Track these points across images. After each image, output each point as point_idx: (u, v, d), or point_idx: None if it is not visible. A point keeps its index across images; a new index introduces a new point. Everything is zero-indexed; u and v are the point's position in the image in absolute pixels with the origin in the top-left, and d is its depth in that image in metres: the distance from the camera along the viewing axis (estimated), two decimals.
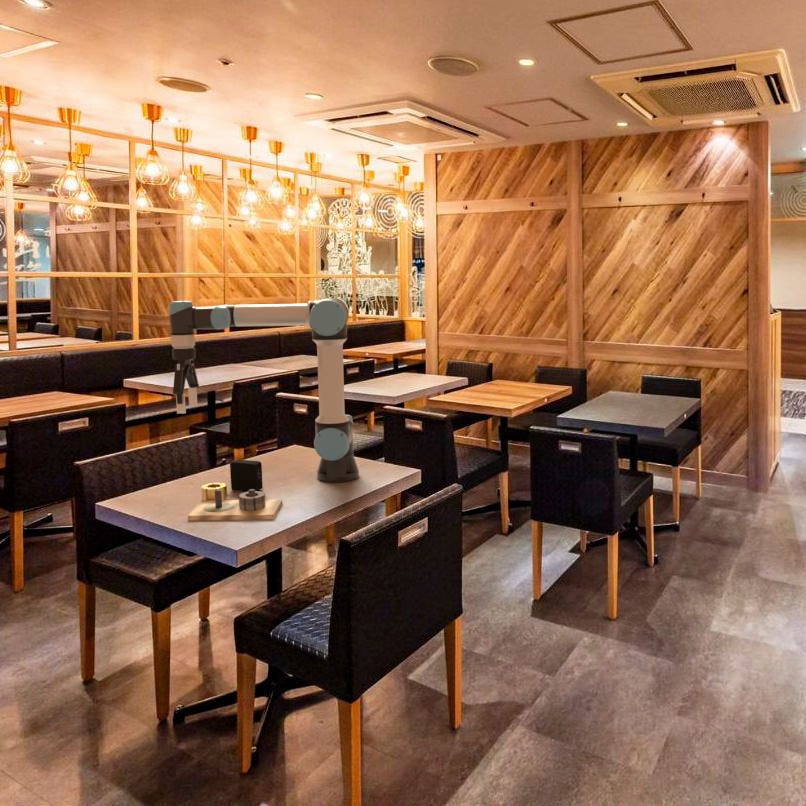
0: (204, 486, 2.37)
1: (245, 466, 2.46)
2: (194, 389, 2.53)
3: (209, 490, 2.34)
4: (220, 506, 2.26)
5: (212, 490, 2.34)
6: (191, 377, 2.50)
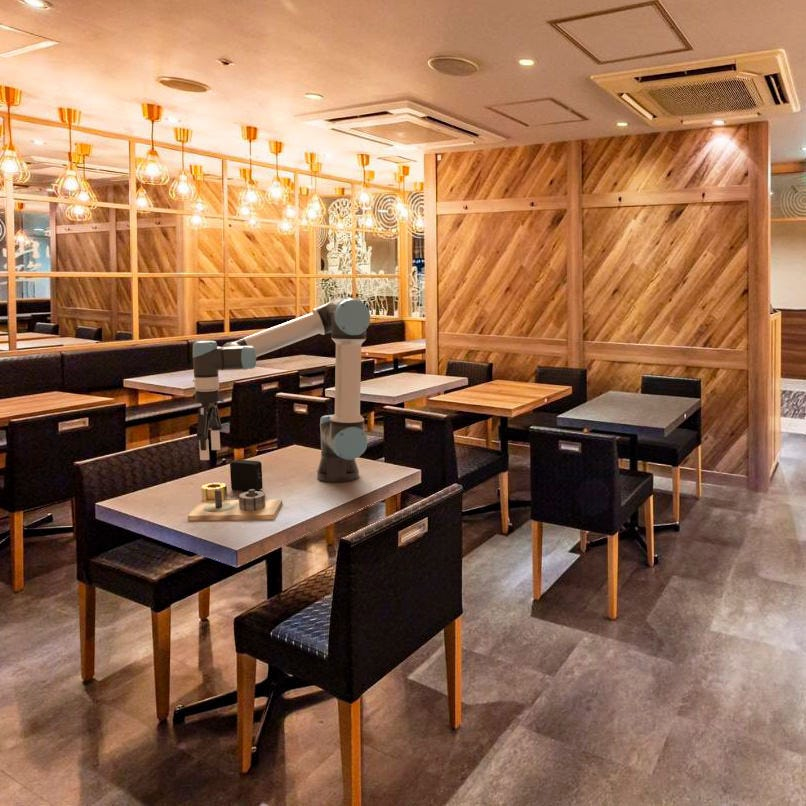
0: (204, 486, 2.37)
1: (245, 466, 2.46)
2: (217, 432, 2.40)
3: (209, 490, 2.34)
4: (220, 506, 2.26)
5: (212, 490, 2.34)
6: (214, 420, 2.37)
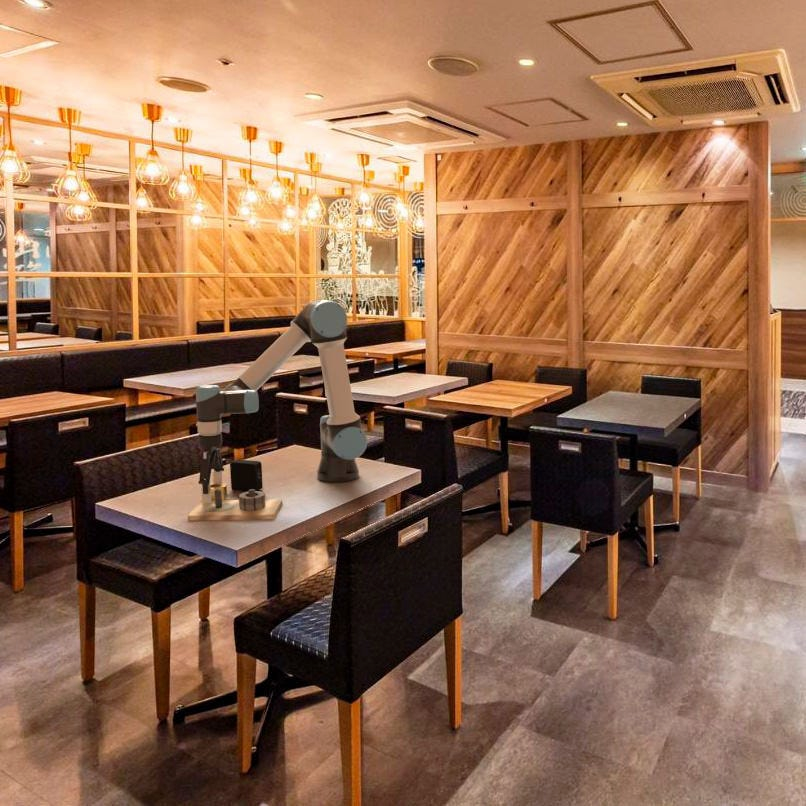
0: None
1: (245, 466, 2.46)
2: (219, 473, 2.43)
3: None
4: (220, 506, 2.26)
5: (212, 490, 2.34)
6: (216, 462, 2.40)
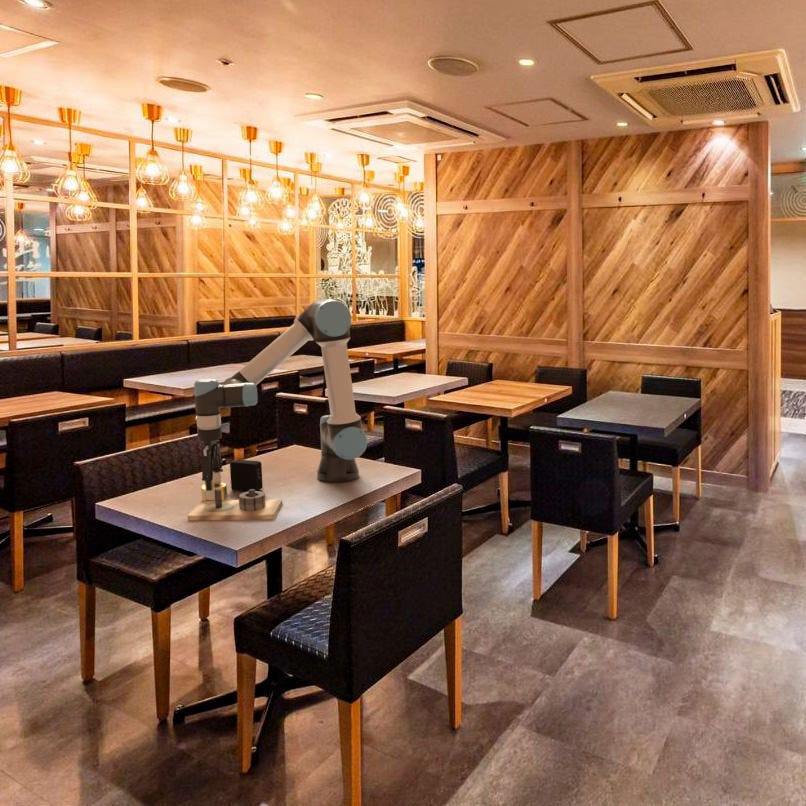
0: (204, 486, 2.37)
1: (245, 466, 2.46)
2: (218, 474, 2.40)
3: None
4: (220, 506, 2.26)
5: None
6: (216, 459, 2.38)
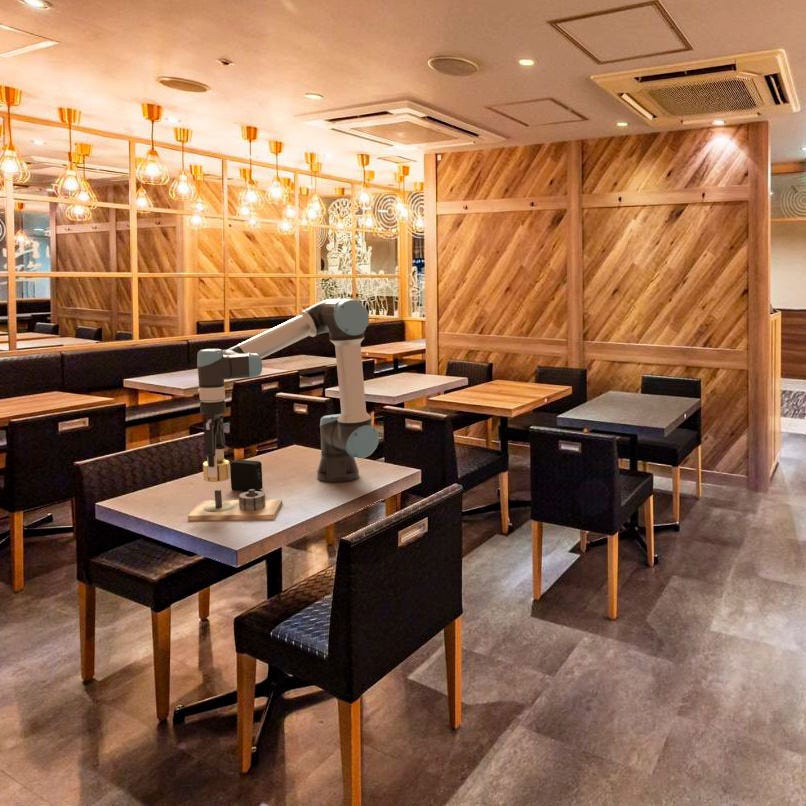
0: (206, 463, 2.23)
1: (245, 466, 2.46)
2: (221, 451, 2.27)
3: None
4: (220, 506, 2.26)
5: None
6: (219, 435, 2.25)
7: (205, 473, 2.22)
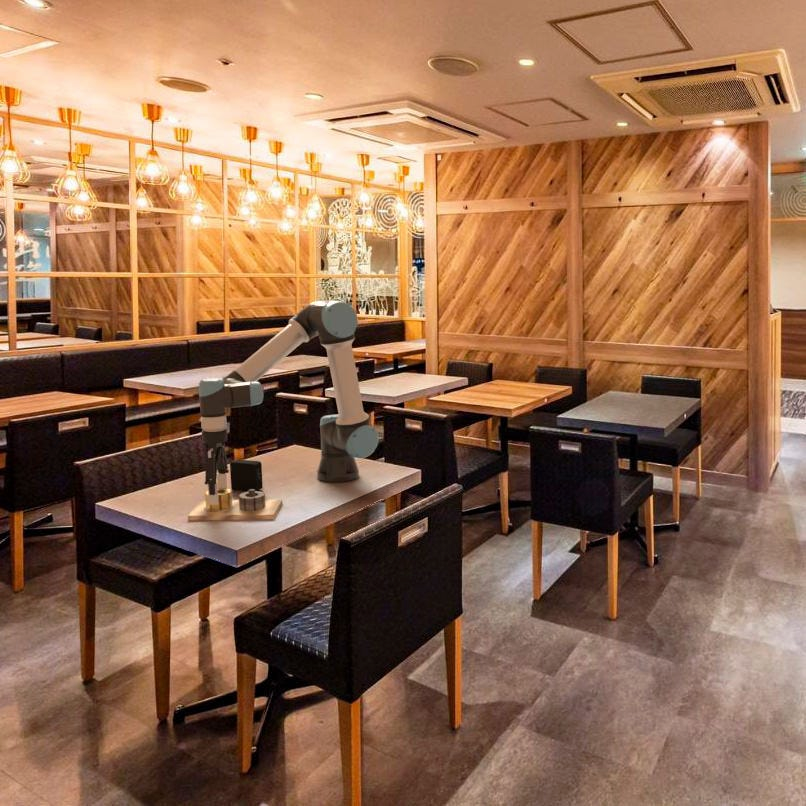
0: None
1: (245, 466, 2.46)
2: (224, 476, 2.30)
3: None
4: None
5: None
6: (221, 461, 2.27)
7: (207, 502, 2.23)
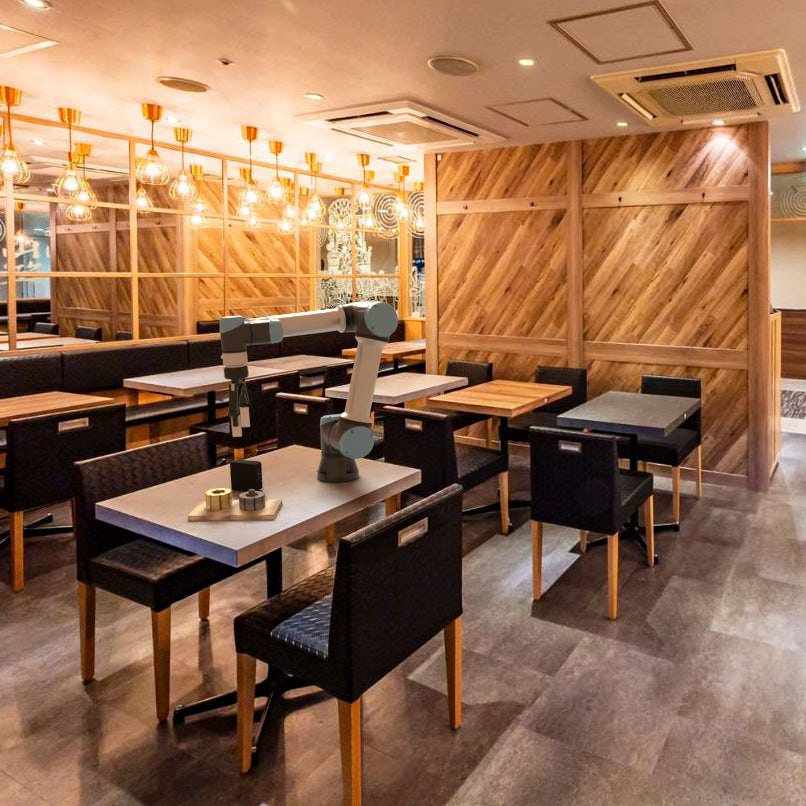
0: (208, 492, 2.25)
1: (245, 466, 2.46)
2: (246, 409, 2.37)
3: (213, 496, 2.22)
4: None
5: (216, 496, 2.22)
6: (243, 396, 2.34)
7: (207, 502, 2.23)
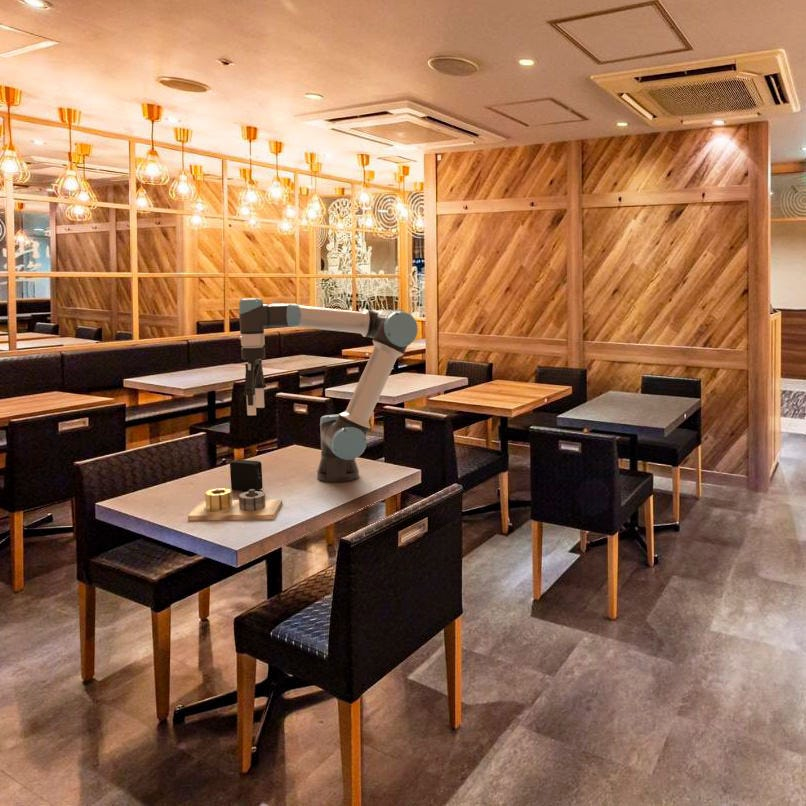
0: (208, 492, 2.25)
1: (245, 466, 2.46)
2: (261, 390, 2.44)
3: (213, 496, 2.22)
4: None
5: (216, 496, 2.22)
6: (259, 377, 2.41)
7: (207, 502, 2.23)
